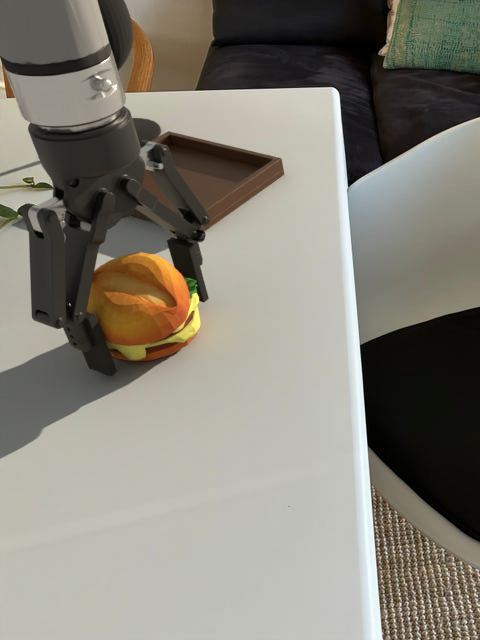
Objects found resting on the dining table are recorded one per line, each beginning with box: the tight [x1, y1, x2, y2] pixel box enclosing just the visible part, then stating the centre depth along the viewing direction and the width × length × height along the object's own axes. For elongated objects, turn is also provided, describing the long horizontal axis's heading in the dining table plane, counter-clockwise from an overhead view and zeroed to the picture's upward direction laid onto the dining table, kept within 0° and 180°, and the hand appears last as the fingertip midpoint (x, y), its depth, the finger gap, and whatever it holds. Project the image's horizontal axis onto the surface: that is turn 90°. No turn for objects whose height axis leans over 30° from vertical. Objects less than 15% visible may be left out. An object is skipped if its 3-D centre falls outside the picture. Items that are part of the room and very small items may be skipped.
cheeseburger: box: [86, 251, 202, 362], centre depth 73 cm, size 10×11×10 cm
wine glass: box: [97, 0, 162, 142], centre depth 103 cm, size 10×10×20 cm
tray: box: [130, 130, 285, 232], centre depth 97 cm, size 19×17×2 cm
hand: (152, 331), depth 75 cm, fingers open, 12 cm apart
